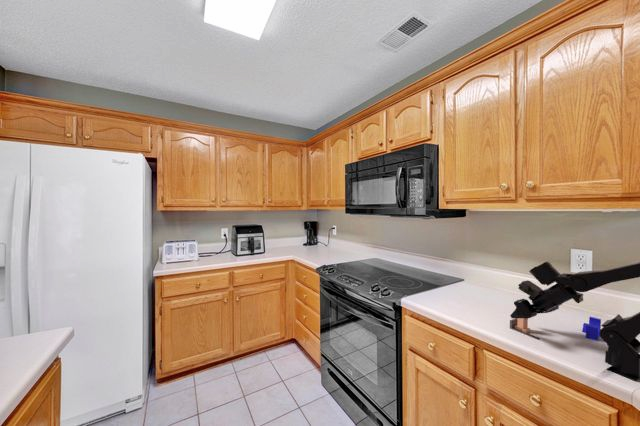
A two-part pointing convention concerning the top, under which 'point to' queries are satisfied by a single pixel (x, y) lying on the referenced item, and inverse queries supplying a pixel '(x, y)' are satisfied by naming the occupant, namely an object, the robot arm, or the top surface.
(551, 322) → the top surface
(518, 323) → the block
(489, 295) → the top surface
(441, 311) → the top surface
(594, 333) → the cable clip
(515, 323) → the grey block holder
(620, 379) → the top surface
